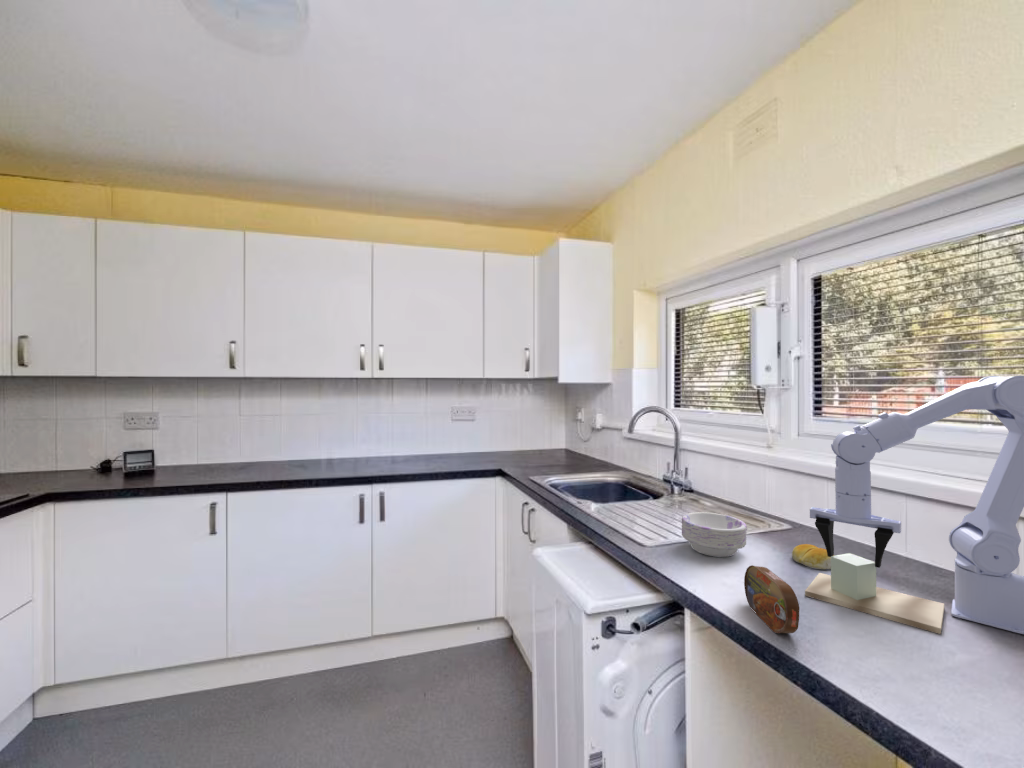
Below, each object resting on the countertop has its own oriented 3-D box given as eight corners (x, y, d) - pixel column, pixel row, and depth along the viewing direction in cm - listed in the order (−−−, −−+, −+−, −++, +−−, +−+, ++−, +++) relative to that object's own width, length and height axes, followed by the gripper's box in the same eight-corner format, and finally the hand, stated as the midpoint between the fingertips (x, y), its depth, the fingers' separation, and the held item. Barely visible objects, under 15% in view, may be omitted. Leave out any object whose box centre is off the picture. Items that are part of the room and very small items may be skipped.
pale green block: (876, 596, 90) (876, 562, 90) (857, 600, 88) (857, 566, 88) (849, 584, 95) (849, 553, 95) (831, 588, 93) (830, 556, 93)
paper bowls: (760, 555, 114) (760, 523, 113) (717, 566, 107) (717, 533, 107) (709, 536, 127) (709, 508, 127) (669, 546, 121) (668, 516, 120)
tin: (742, 600, 91) (742, 558, 91) (758, 600, 91) (758, 558, 91) (784, 644, 76) (783, 593, 76) (803, 644, 76) (803, 593, 75)
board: (944, 609, 86) (944, 603, 86) (940, 634, 78) (940, 628, 78) (819, 577, 101) (819, 572, 101) (804, 595, 92) (804, 590, 92)
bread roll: (810, 554, 114) (810, 538, 114) (844, 568, 106) (844, 551, 106) (782, 557, 112) (782, 541, 112) (815, 572, 104) (814, 554, 104)
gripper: (902, 495, 89) (903, 564, 89) (815, 483, 99) (816, 546, 99) (898, 502, 84) (899, 575, 84) (806, 489, 94) (807, 555, 94)
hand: (853, 560), depth 91 cm, fingers open, 7 cm apart
